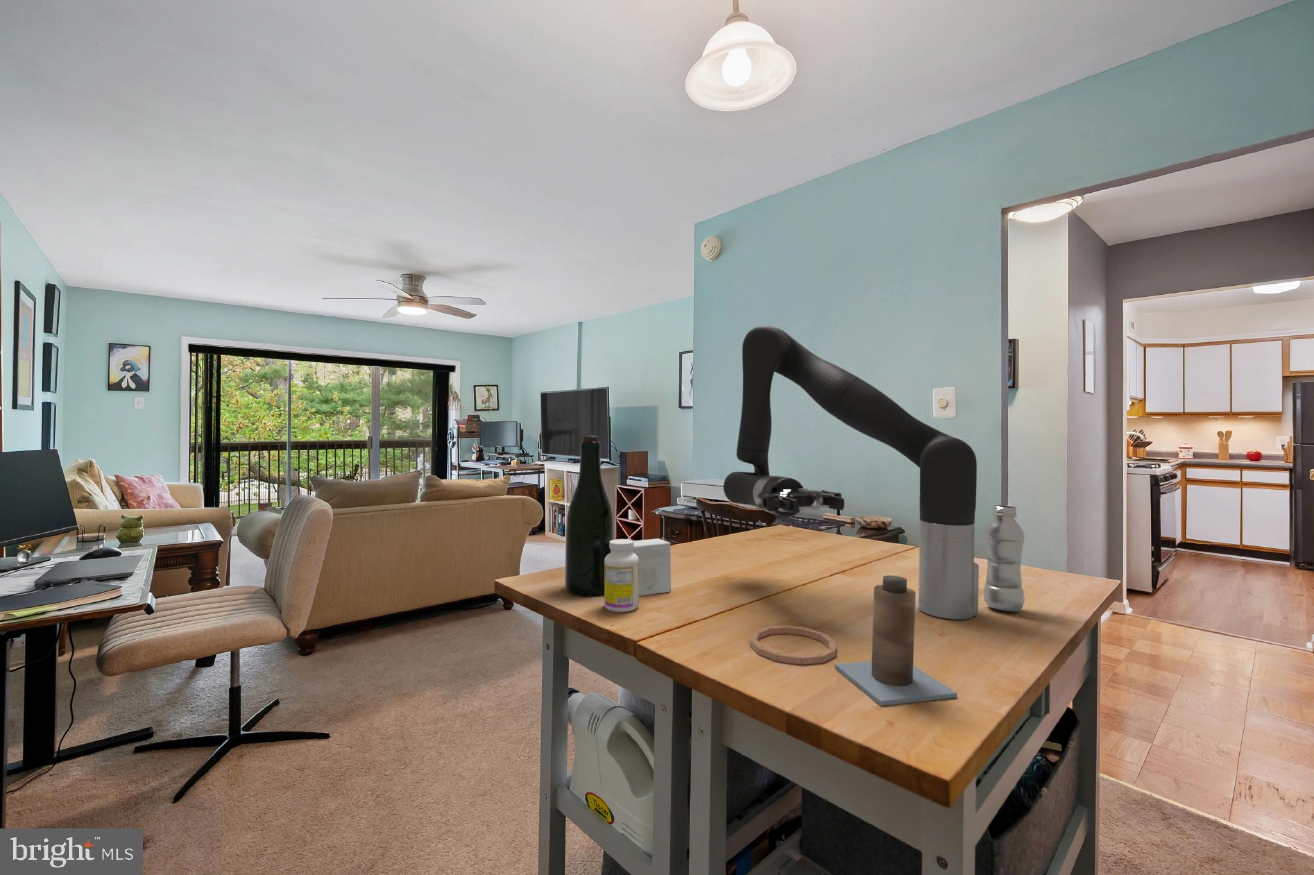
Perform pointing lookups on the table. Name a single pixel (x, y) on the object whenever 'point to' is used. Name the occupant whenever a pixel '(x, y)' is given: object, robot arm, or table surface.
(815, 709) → the table surface
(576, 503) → the wine bottle
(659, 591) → the skincare box
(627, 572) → the supplement bottle
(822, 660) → the pinkish tan segmented ring
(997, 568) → the plastic bottle
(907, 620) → the pepper mill
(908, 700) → the mat
